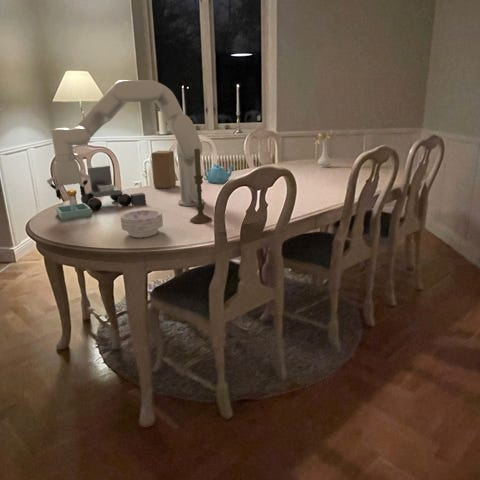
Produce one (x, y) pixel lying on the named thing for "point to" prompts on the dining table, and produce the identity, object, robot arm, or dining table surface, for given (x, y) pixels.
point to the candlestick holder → (199, 193)
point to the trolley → (103, 189)
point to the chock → (138, 199)
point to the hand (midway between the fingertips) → (71, 197)
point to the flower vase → (324, 147)
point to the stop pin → (72, 199)
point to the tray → (73, 212)
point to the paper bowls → (142, 223)
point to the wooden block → (163, 169)
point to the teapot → (218, 174)
